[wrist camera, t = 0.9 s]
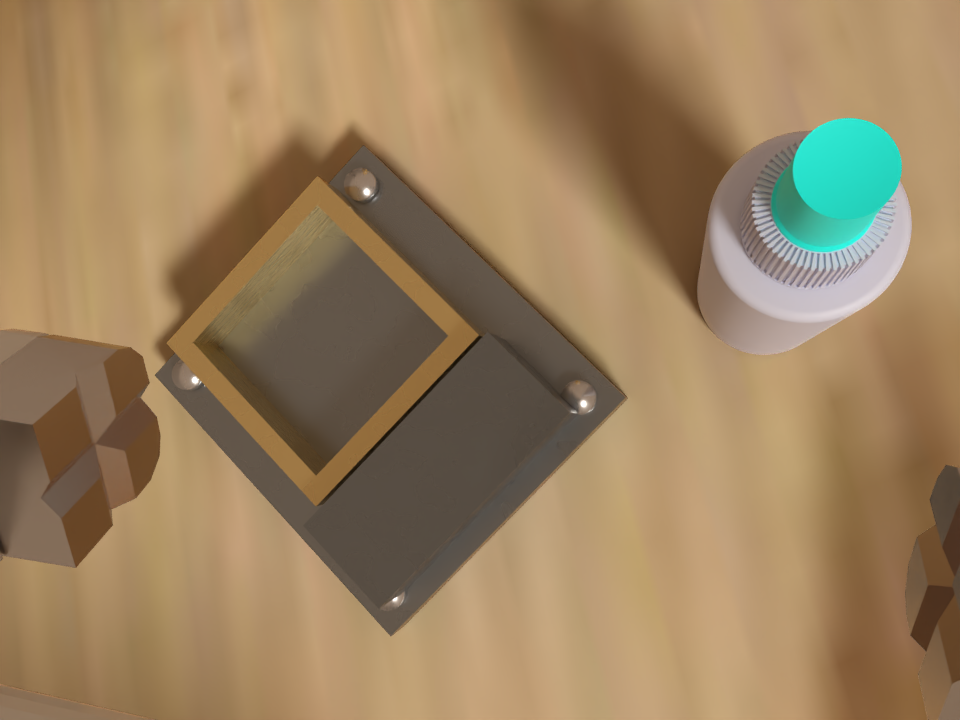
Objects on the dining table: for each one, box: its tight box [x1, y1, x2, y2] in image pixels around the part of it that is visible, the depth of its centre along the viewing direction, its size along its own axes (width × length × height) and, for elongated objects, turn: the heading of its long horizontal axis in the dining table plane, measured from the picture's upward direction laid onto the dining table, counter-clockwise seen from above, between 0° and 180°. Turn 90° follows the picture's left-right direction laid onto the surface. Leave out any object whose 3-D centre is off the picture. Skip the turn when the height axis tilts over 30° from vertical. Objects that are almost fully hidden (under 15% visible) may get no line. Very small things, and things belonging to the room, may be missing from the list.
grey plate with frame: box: [155, 145, 628, 636], centre depth 44 cm, size 16×18×6 cm
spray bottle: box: [697, 118, 912, 355], centre depth 33 cm, size 6×6×22 cm
